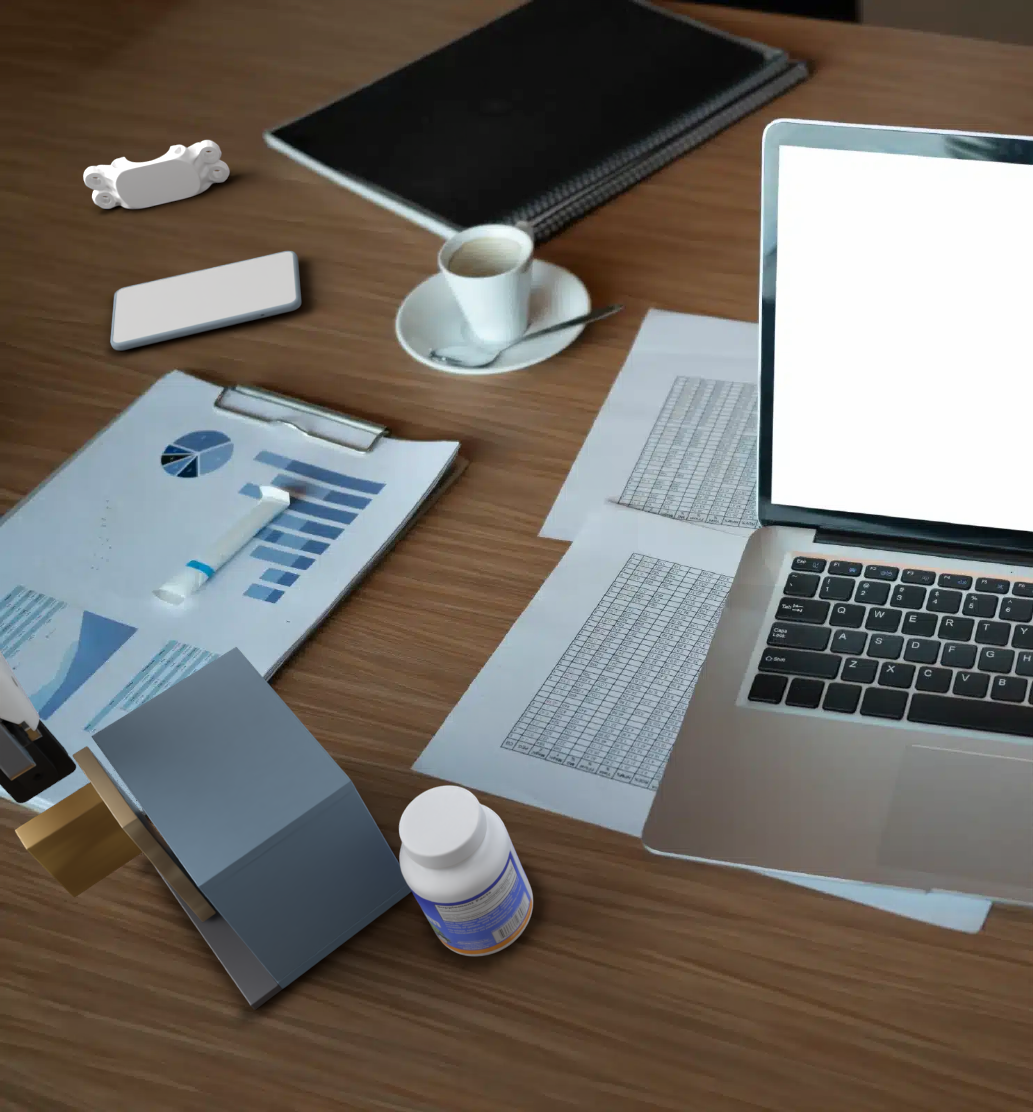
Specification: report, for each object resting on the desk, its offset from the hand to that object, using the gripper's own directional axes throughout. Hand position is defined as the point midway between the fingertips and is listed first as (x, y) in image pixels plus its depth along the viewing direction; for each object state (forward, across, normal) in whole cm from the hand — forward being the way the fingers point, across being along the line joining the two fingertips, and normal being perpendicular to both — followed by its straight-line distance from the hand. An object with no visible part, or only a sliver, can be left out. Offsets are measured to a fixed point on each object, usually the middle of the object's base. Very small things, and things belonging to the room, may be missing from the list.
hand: (43, 777), depth 70 cm
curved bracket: (+7, -62, +33) cm, 71 cm away
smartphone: (+7, -43, +28) cm, 52 cm away
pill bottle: (+7, +20, +13) cm, 25 cm away
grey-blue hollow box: (+7, +10, +7) cm, 14 cm away
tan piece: (+6, +7, 0) cm, 9 cm away
